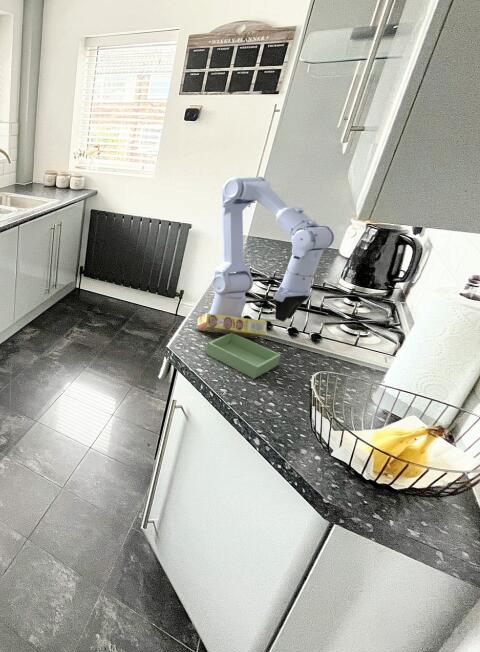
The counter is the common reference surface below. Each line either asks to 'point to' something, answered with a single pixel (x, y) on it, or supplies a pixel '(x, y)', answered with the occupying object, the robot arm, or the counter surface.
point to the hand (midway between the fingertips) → (282, 318)
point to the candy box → (232, 325)
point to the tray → (243, 354)
